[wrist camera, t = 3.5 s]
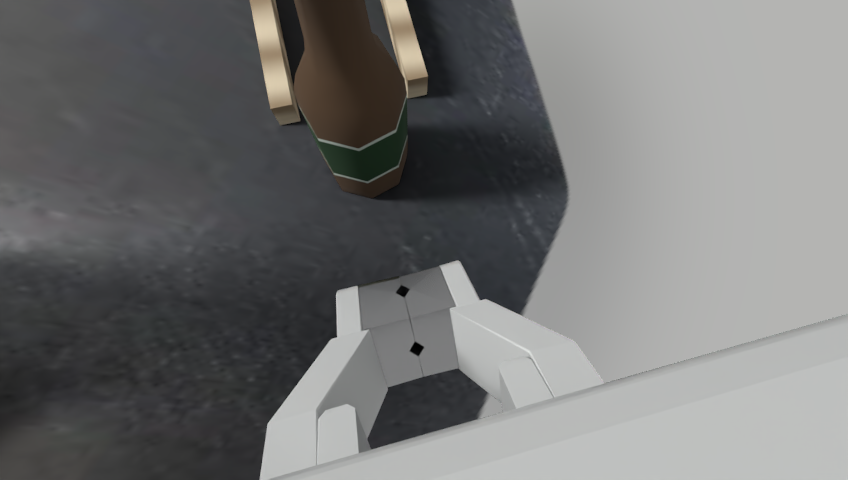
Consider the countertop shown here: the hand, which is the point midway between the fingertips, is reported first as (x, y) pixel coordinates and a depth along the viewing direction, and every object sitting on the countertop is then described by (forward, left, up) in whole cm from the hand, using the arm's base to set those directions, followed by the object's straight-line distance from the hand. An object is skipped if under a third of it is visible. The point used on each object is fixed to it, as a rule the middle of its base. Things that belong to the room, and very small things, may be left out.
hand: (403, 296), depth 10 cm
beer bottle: (+15, +6, -28) cm, 32 cm away
